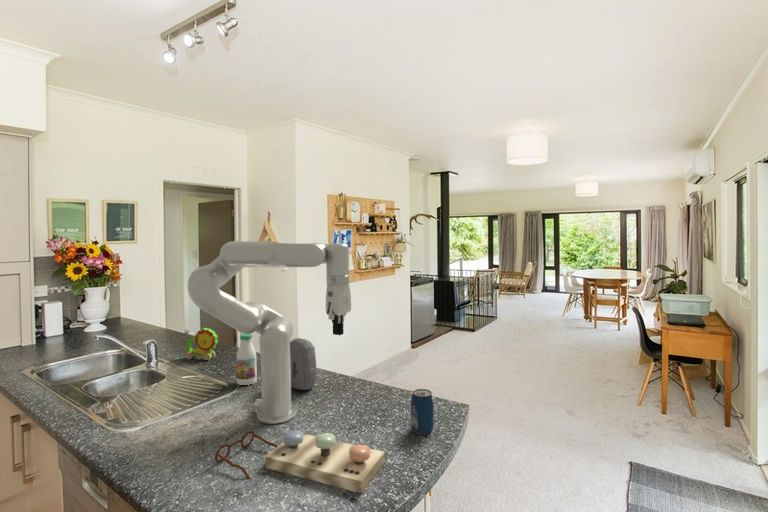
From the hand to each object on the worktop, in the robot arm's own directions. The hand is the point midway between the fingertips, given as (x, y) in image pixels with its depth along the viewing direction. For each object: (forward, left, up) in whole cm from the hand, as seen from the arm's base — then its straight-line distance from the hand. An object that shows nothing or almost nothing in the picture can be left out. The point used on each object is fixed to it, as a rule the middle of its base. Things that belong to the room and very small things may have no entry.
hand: (338, 334), depth 137 cm
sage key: (+12, -29, -21) cm, 38 cm away
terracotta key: (+22, -29, -22) cm, 43 cm away
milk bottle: (-48, +10, -27) cm, 56 cm away
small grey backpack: (-25, +13, -27) cm, 39 cm away
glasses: (-8, -34, -28) cm, 45 cm away
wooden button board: (+12, -29, -27) cm, 41 cm away
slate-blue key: (+2, -29, -23) cm, 37 cm away
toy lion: (-90, +27, -27) cm, 98 cm away
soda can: (+30, -1, -27) cm, 41 cm away
